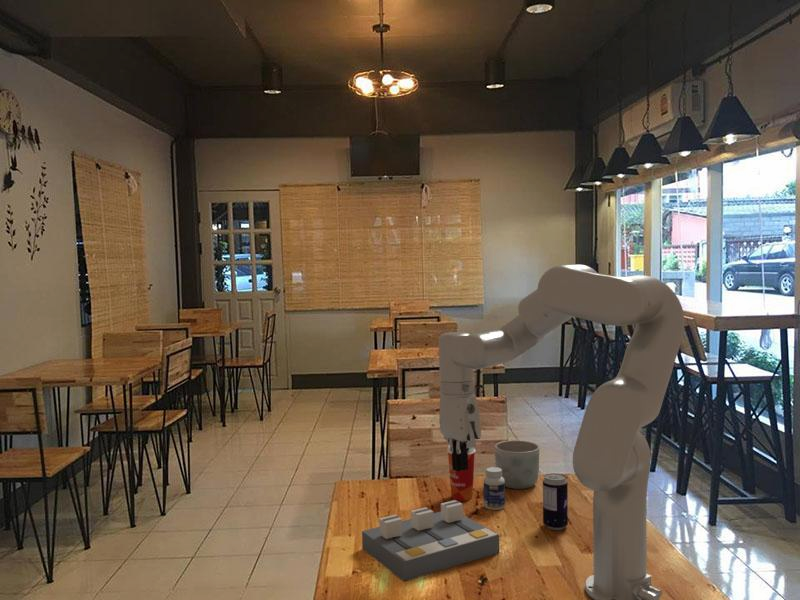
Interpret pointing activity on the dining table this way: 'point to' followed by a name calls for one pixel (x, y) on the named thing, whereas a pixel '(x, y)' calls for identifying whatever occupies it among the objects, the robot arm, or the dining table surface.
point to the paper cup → (462, 478)
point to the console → (431, 546)
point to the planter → (518, 463)
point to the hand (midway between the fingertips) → (460, 469)
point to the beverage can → (555, 501)
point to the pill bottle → (494, 489)
